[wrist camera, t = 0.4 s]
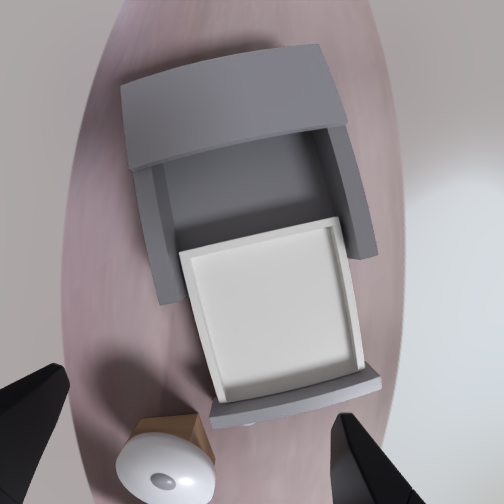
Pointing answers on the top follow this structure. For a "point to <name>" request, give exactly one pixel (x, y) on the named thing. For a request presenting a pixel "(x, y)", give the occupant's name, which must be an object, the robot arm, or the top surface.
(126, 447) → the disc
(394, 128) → the top surface
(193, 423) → the block
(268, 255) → the tray
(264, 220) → the player housing
